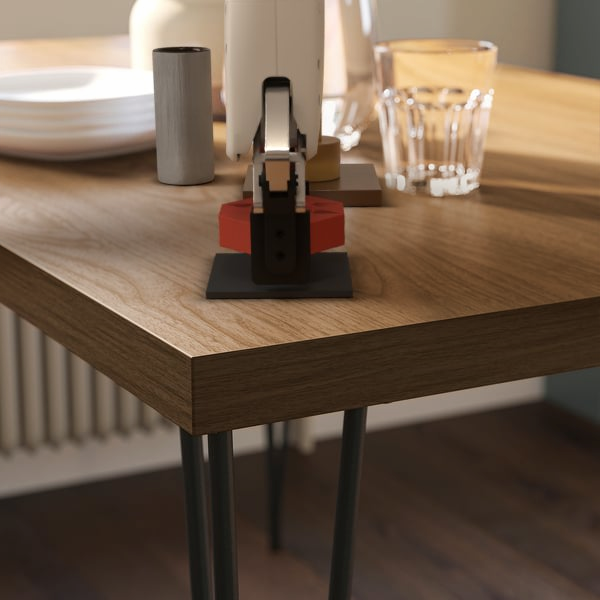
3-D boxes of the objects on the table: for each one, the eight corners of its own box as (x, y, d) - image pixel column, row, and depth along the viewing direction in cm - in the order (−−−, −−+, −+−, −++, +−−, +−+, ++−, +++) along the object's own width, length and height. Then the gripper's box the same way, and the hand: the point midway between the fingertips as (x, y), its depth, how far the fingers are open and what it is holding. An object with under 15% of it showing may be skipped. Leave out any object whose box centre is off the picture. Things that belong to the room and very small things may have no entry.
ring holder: (242, 207, 85) (240, 112, 83) (248, 179, 94) (246, 93, 92) (381, 205, 85) (382, 111, 83) (373, 178, 94) (374, 92, 92)
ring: (216, 256, 64) (215, 224, 63) (224, 225, 70) (223, 196, 70) (346, 255, 64) (346, 222, 63) (341, 224, 70) (341, 194, 70)
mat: (205, 298, 64) (205, 291, 64) (215, 259, 72) (215, 253, 71) (353, 297, 64) (353, 290, 64) (347, 258, 72) (347, 251, 71)
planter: (180, 188, 91) (175, 53, 88) (146, 179, 95) (140, 49, 92) (226, 179, 94) (222, 48, 91) (191, 171, 98) (186, 45, 94)
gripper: (216, -61, 70) (226, 228, 76) (190, -58, 54) (205, 311, 59) (341, -63, 70) (342, 226, 76) (354, -61, 54) (354, 309, 59)
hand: (282, 261), depth 67 cm, fingers closed on ring, 7 cm apart
